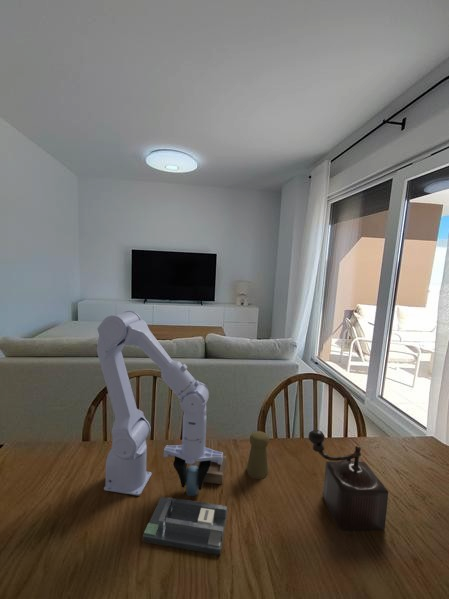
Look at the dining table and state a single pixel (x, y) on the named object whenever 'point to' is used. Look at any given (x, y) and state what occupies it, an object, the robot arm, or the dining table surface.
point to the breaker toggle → (206, 516)
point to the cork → (258, 455)
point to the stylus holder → (214, 472)
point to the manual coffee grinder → (352, 490)
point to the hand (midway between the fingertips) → (192, 485)
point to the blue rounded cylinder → (192, 480)
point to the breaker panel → (186, 526)
